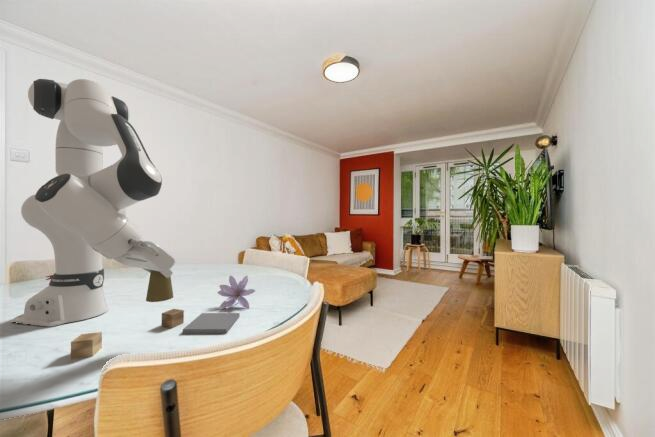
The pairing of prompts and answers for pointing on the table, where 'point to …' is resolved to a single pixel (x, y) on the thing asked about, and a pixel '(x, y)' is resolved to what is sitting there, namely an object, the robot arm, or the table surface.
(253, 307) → the table surface
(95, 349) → the oak block
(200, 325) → the coaster
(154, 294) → the cork
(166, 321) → the walnut block
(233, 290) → the water lily
